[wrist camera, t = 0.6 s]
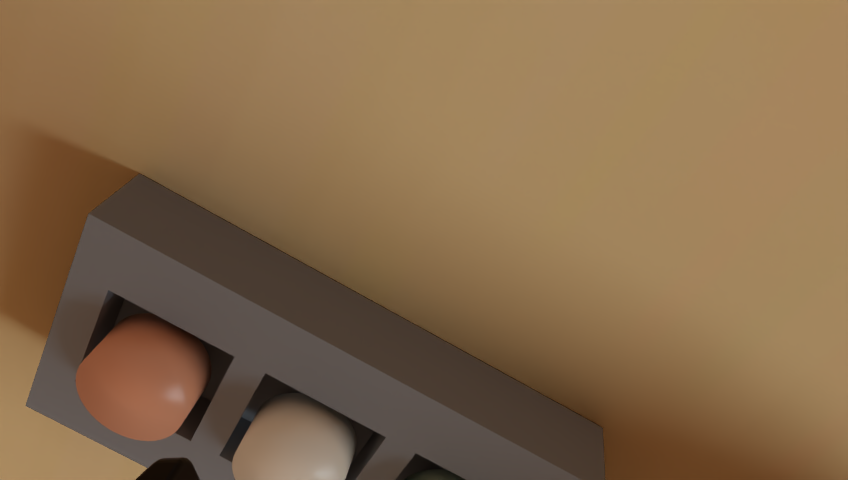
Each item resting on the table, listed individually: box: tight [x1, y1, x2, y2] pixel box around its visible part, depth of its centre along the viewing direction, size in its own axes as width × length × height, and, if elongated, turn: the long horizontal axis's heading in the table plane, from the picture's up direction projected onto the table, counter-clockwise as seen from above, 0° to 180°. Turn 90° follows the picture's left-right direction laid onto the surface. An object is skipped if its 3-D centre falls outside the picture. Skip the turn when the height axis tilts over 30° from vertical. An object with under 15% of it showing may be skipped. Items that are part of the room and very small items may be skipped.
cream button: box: [232, 393, 357, 480], centre depth 25 cm, size 4×4×2 cm
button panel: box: [26, 174, 605, 480], centre depth 26 cm, size 18×9×3 cm, turn 62°
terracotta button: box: [76, 313, 212, 441], centre depth 24 cm, size 4×4×2 cm
